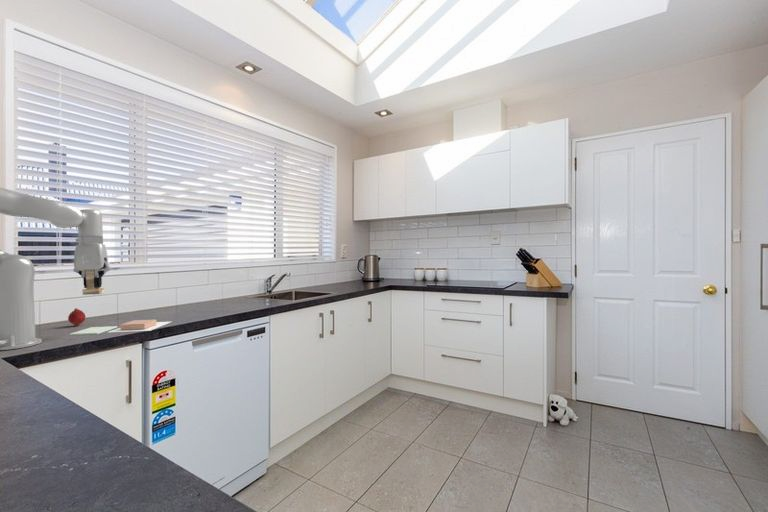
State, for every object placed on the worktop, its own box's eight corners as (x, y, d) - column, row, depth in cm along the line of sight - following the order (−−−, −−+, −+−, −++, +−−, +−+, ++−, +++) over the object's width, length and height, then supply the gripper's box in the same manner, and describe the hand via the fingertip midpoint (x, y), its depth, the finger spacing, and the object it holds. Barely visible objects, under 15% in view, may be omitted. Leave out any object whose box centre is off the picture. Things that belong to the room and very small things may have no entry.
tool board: (97, 335, 138) (97, 332, 138) (69, 337, 137) (69, 333, 137) (117, 329, 150) (117, 326, 150) (91, 330, 149) (91, 327, 149)
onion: (88, 324, 162) (87, 306, 162) (81, 326, 157) (80, 308, 156) (73, 325, 161) (72, 307, 160) (65, 327, 155) (64, 309, 155)
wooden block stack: (99, 294, 142) (97, 268, 142) (82, 294, 142) (81, 269, 141) (104, 293, 145) (102, 268, 145) (88, 293, 145) (86, 268, 144)
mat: (150, 332, 142) (150, 330, 142) (106, 334, 140) (106, 332, 140) (172, 323, 160) (172, 321, 160) (133, 324, 158) (133, 323, 158)
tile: (156, 324, 153) (144, 329, 144) (134, 325, 152) (120, 330, 143) (156, 319, 153) (144, 323, 144) (133, 320, 152) (120, 324, 143)
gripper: (61, 241, 138) (63, 289, 139) (106, 240, 140) (108, 287, 140) (75, 241, 146) (77, 287, 146) (119, 240, 147) (120, 285, 148)
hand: (92, 287), depth 143 cm, fingers closed on wooden block stack, 3 cm apart
